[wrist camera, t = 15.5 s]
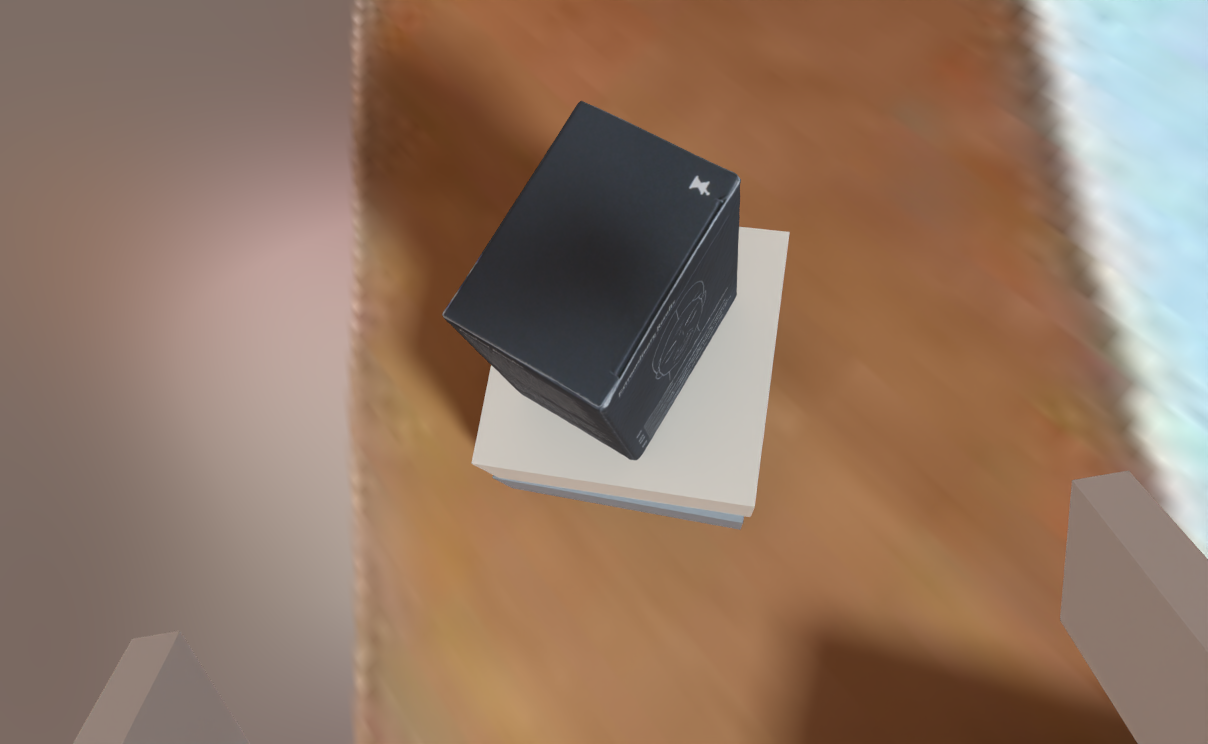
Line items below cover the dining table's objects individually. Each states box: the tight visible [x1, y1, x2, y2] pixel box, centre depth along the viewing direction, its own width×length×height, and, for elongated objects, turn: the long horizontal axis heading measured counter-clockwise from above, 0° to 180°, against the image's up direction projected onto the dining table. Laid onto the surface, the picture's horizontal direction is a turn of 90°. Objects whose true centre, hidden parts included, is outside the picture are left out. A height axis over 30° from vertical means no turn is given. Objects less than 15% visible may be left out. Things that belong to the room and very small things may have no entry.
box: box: [442, 101, 741, 460], centre depth 30 cm, size 8×6×11 cm
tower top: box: [472, 227, 789, 517], centre depth 37 cm, size 11×11×4 cm
